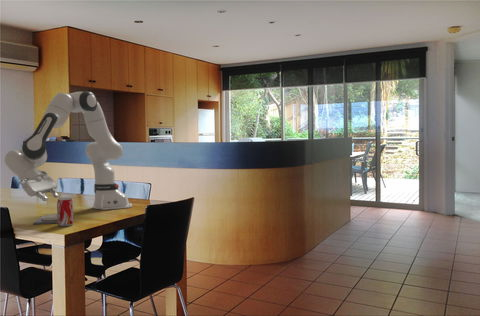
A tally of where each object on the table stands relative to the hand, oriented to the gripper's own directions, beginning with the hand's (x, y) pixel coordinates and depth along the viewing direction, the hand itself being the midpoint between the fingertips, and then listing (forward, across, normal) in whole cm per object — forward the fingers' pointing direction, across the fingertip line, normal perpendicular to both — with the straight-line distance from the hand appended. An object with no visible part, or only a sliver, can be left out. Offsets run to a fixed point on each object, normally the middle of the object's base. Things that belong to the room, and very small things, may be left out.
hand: (51, 198), depth 201 cm
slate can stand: (+5, +10, +13) cm, 17 cm away
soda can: (+14, 0, +5) cm, 15 cm away
